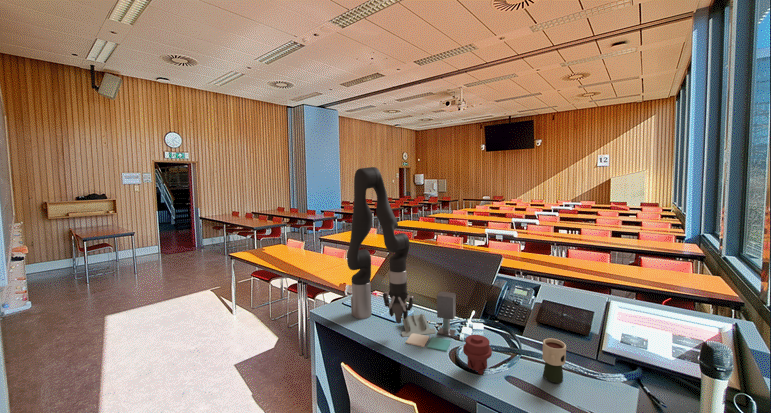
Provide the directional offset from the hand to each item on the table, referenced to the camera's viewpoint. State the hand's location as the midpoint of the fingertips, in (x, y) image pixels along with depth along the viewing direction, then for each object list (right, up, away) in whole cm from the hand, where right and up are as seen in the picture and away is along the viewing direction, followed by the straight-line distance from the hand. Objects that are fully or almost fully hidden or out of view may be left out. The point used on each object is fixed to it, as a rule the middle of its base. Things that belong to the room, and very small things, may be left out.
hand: (398, 316), depth 146 cm
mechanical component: (+28, -12, -23) cm, 38 cm away
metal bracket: (+8, -8, +8) cm, 14 cm away
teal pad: (+17, -9, -7) cm, 20 cm away
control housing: (+21, -8, +2) cm, 23 cm away
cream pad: (+8, -9, -3) cm, 13 cm away
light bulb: (0, -3, 0) cm, 3 cm away
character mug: (+52, -12, -30) cm, 61 cm away
